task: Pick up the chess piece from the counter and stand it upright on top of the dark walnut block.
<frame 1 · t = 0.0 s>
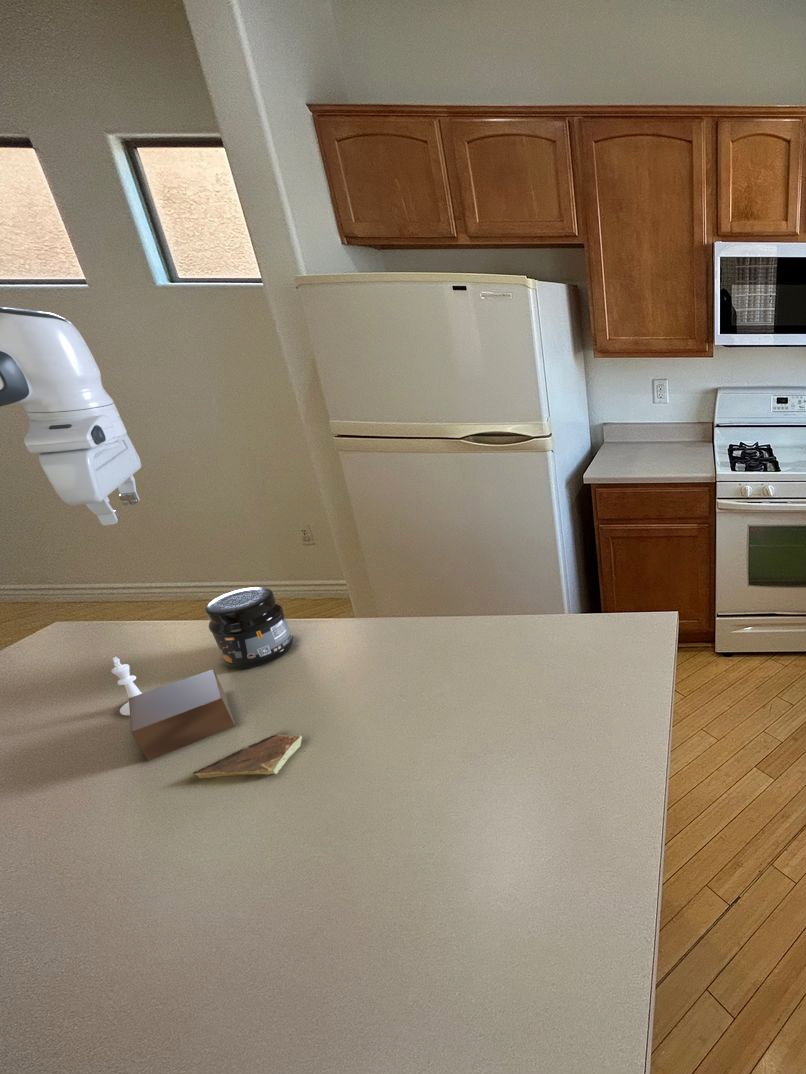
hand: (122, 513, 87), 30 cm above the counter, tool pointing down, fingers open, 8 cm apart
chess piece: (142, 708, 91), on the counter
shard: (256, 769, 80), on the counter
supplement container: (262, 655, 104), on the counter
walnut block: (190, 727, 87), on the counter
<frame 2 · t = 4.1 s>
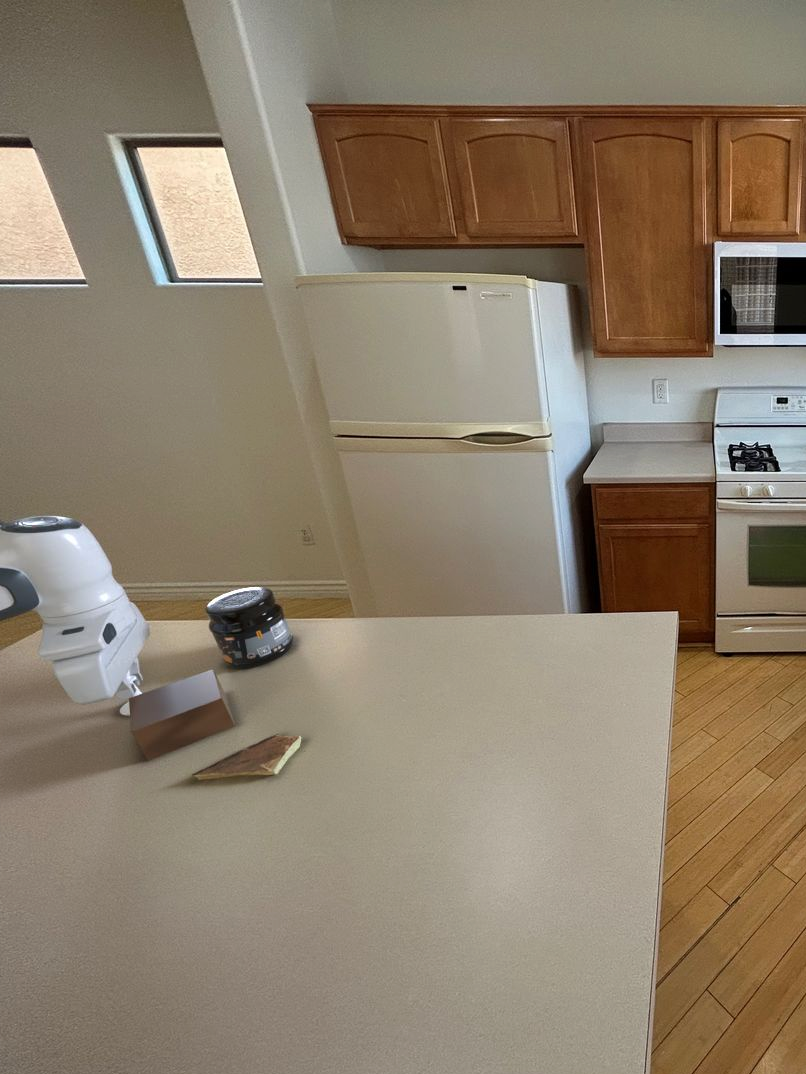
hand: (132, 690, 89), 4 cm above the counter, tool pointing down, fingers closed on chess piece
chess piece: (142, 708, 91), on the counter, touching gripper
everything else where it was.
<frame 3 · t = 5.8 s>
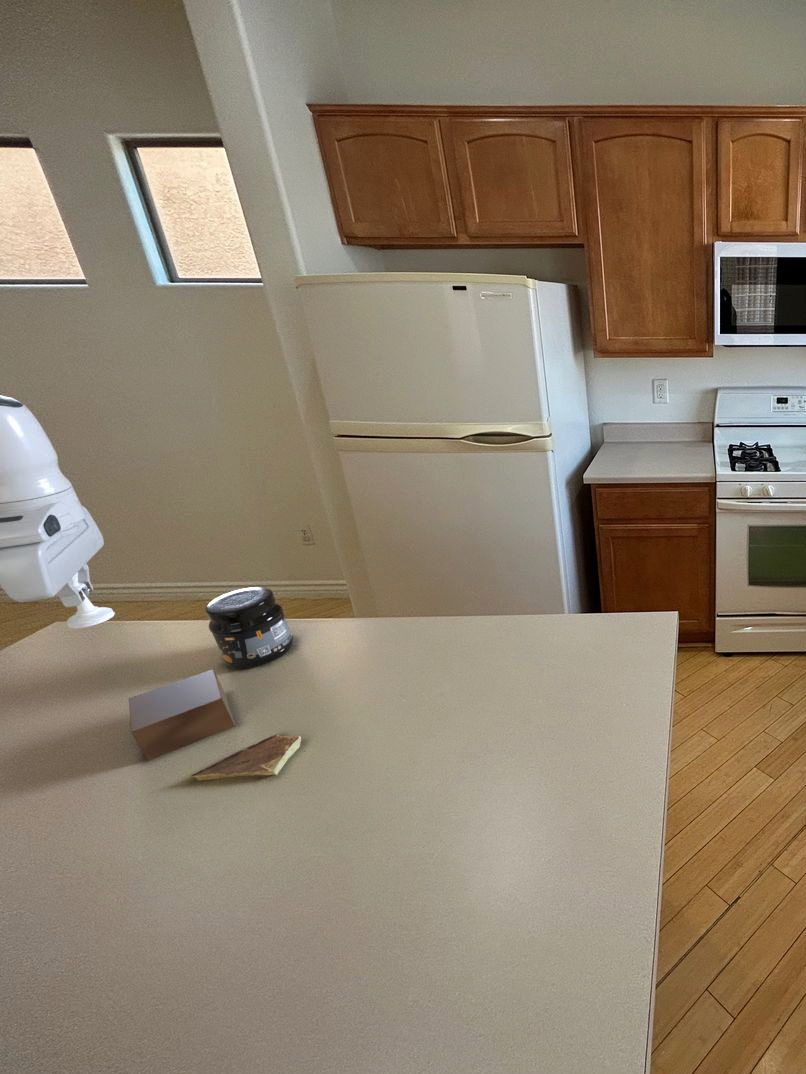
hand: (80, 599, 82), 21 cm above the counter, tool pointing down, fingers closed on chess piece
chess piece: (92, 620, 84), point 17 cm above the counter, touching gripper
everything else where it was.
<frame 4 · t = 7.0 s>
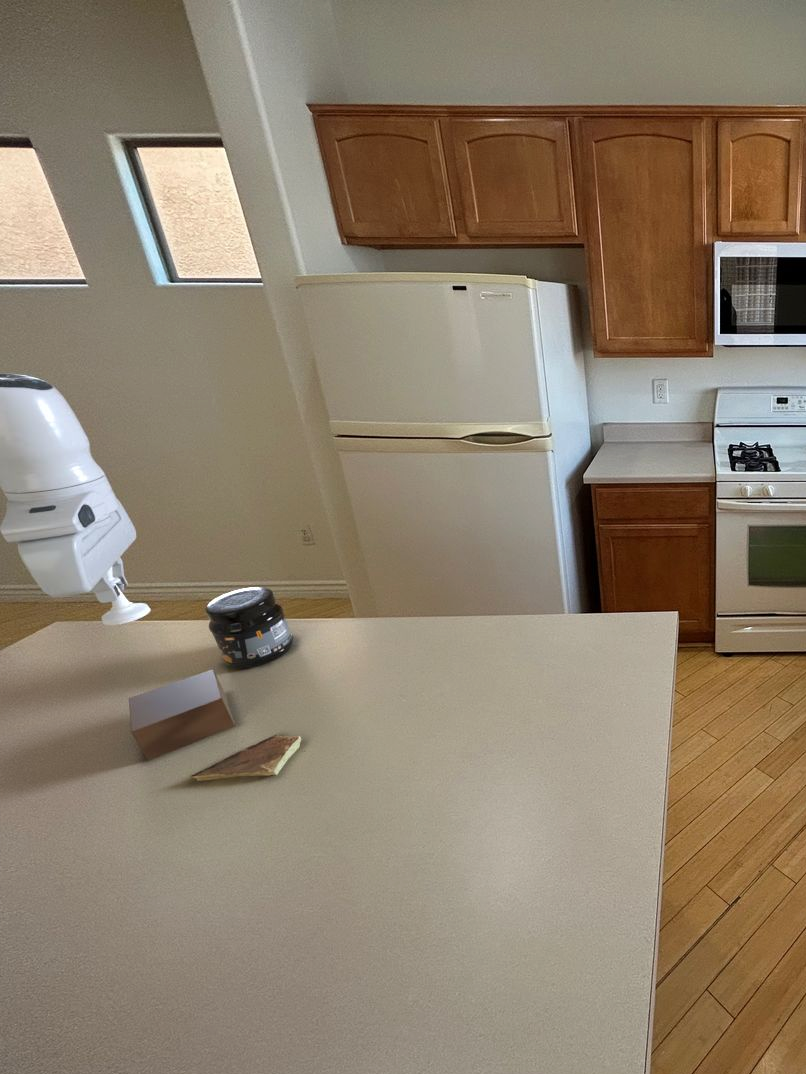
hand: (115, 594, 77), 24 cm above the counter, tool pointing down, fingers closed on chess piece
chess piece: (127, 617, 79), point 20 cm above the counter, touching gripper
everything else where it was.
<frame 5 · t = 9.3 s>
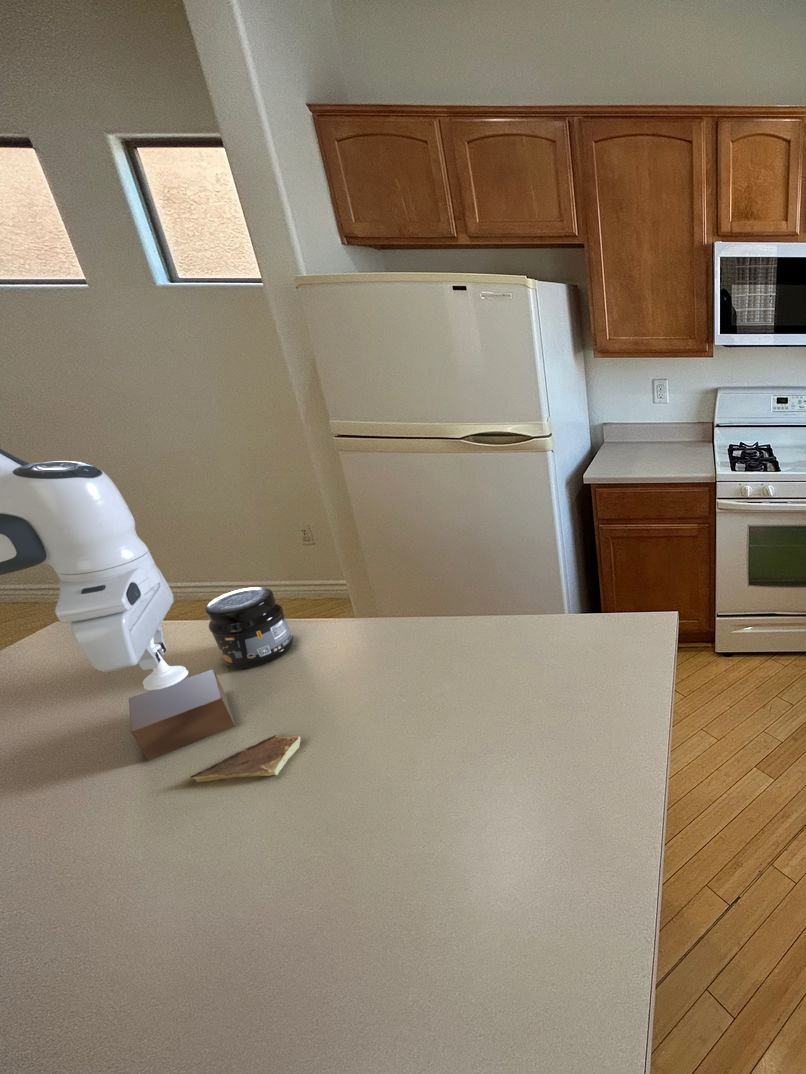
hand: (155, 660, 81), 13 cm above the counter, tool pointing down, fingers closed on chess piece
chess piece: (167, 680, 83), point 9 cm above the counter, touching gripper
everything else where it was.
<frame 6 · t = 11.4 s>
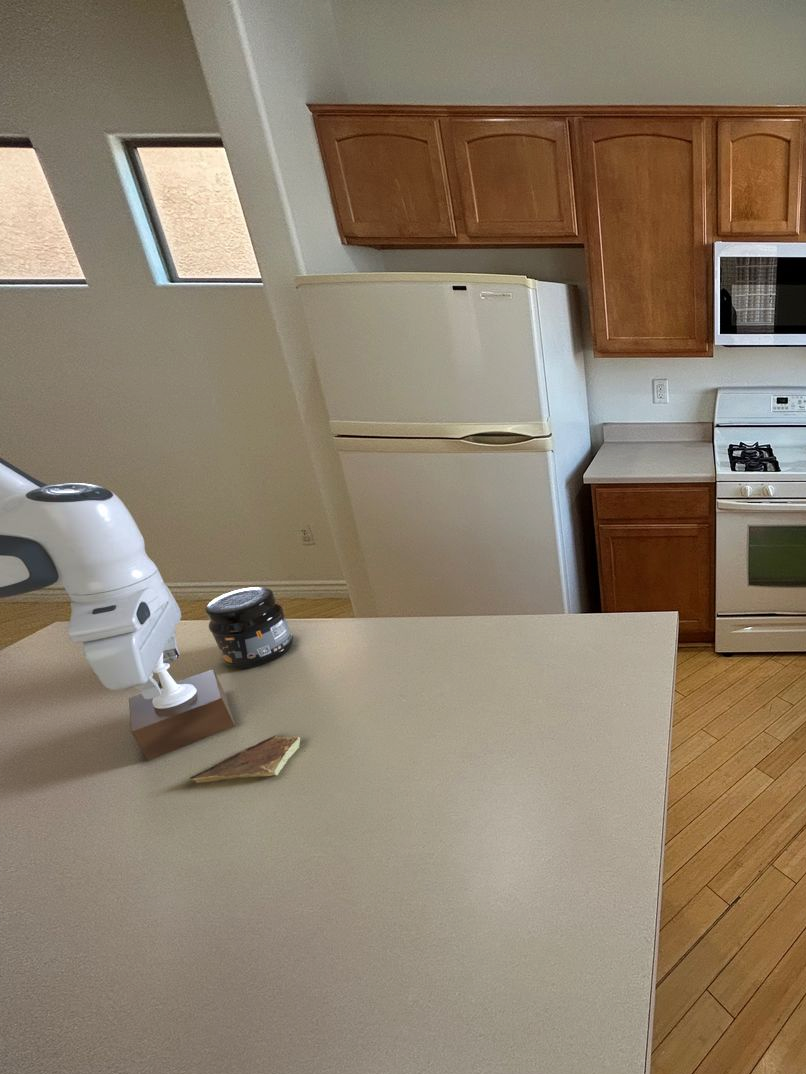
hand: (164, 676, 83), 10 cm above the counter, tool pointing down, fingers open, 8 cm apart
chess piece: (176, 698, 84), point 6 cm above the counter, touching walnut block
everything else where it was.
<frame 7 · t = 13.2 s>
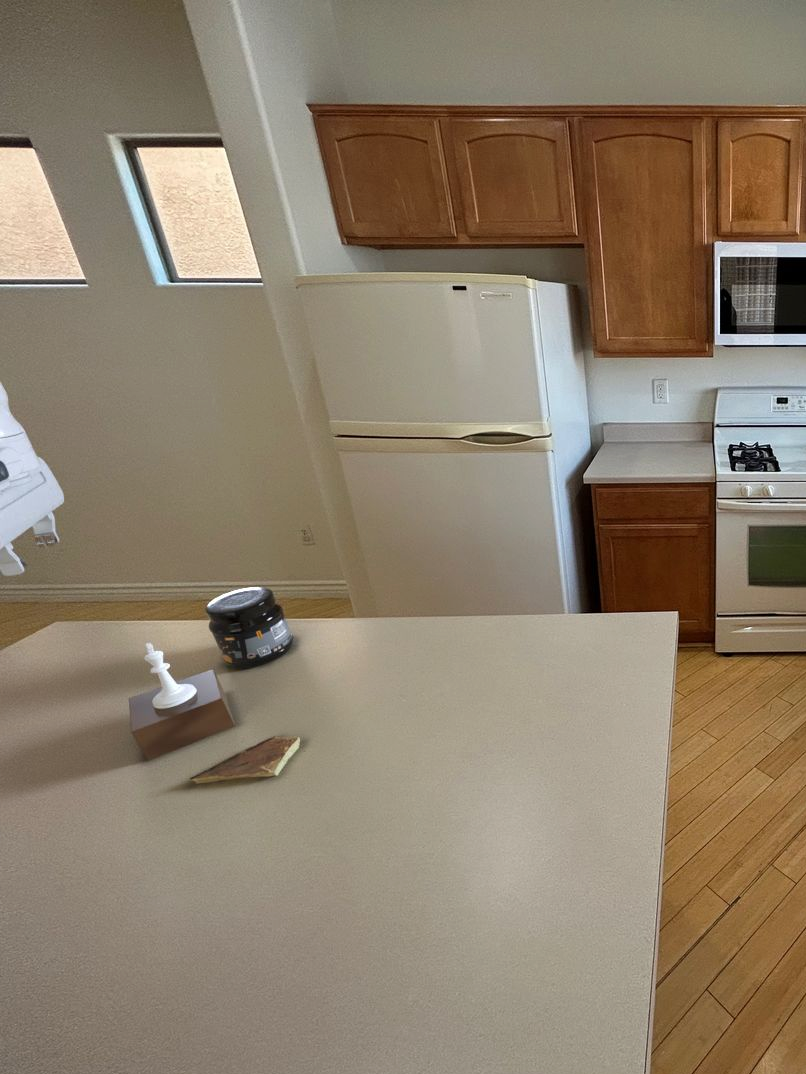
hand: (34, 558, 75), 30 cm above the counter, tool pointing down, fingers open, 8 cm apart
nothing on the counter moved.
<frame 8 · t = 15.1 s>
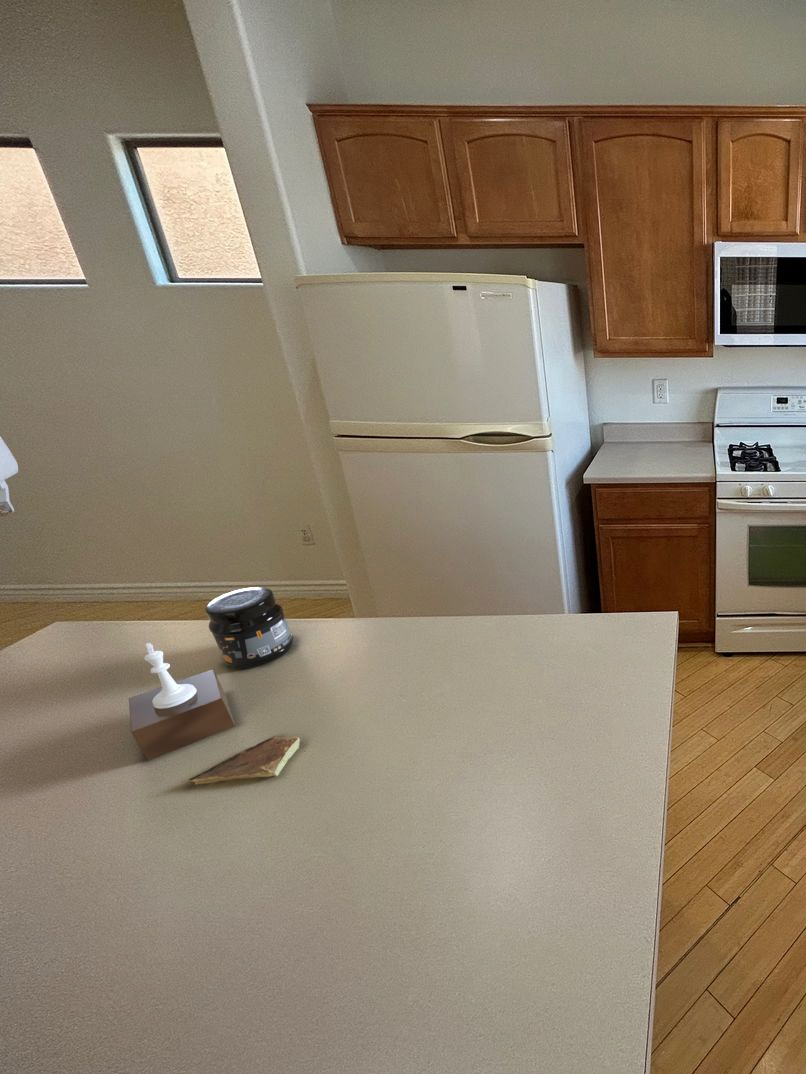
nothing on the counter moved.
at the end: chess piece inside the target area on the walnut block (0.1 cm from its centre), point 5.8 cm above the walnut block's base; chess piece tilted 0°; the gripper is holding nothing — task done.
